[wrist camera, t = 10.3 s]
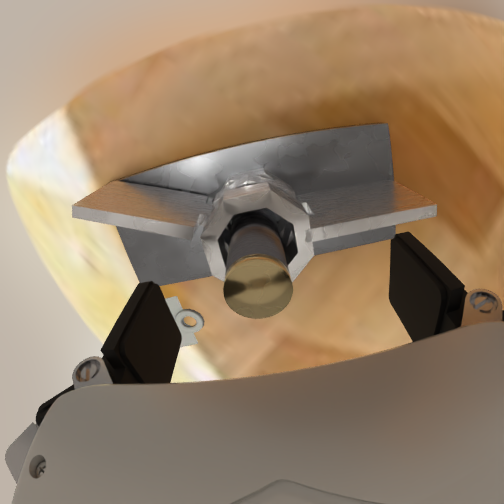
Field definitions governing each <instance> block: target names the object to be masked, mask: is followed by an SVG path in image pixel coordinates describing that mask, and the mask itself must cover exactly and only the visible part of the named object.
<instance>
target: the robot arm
mask: <svg viewBox="0 0 504 504" xmlns="http://www.w3.org/2000/svg"><path fill="white" fill-rule="evenodd" d="M464 287H465V286H464V285H463V284H462V282H461V281H460V280H459V279H458V278H457V277H456V276H455V275H454V274H453V273H452V272H451V271H450V270H449V269H448V268H447V267H446V266H445V265H444V264H443V263H442V262H441V261H440V260H439V259H438V258H437V257H436V256H435V255H434V254H433V253H432V252H430V251H429V250H428V249H427V248H426V247H425V246H424V245H423V244H422V243H421V242H420V241H419V240H418V239H416V238H415V237H414V236H413V235H412V234H411V233H410V232H404V233H399V234H396V235H395V236H394V238H393V239H391V255H390V284H389V300H390V303H391V305H392V306H393V308H394V310H395V311H396V313H397V315H398V316H399V318H400V320H401V322H402V323H403V325H404V327H405V329H406V330H407V332H408V334H409V336H410V337H411V339H412V341H413V342H412V343H408V344H405V345H402V346H398V347H395V348H391V349H388V350H384V351H380V352H377V353H373V354H369V355H365V356H361V357H357V358H352V359H348V360H344V361H339V362H334V363H330V364H325V365H320V366H315V367H309V368H304V369H298V370H292V371H286V372H280V373H273V374H266V375H259V376H251V377H243V378H233V379H224V380H213V381H200V382H183V383H170V382H171V378H172V374H173V370H174V367H175V363H176V359H177V356H178V352H179V349H180V345H181V342H182V335H181V332H180V330H179V328H178V326H177V324H176V322H175V320H174V317H173V315H172V313H171V311H170V309H169V307H168V304H167V302H166V300H165V298H164V296H163V293H162V291H161V289H160V287H159V285H158V284H155V283H154V282H153V281H148V282H142V283H139V284H138V285H137V287H136V289H135V290H134V292H133V294H132V295H131V297H130V299H129V300H128V302H127V304H126V306H125V307H124V309H123V311H122V312H121V314H120V316H119V318H118V319H117V321H116V323H115V325H114V326H113V328H112V330H111V332H110V334H109V336H108V337H107V339H106V341H105V343H104V345H103V347H102V348H101V352H102V353H103V355H104V356H103V357H102V358H99V357H95V356H94V357H89V358H87V359H85V360H83V361H82V362H80V363H79V364H78V365H77V366H76V368H75V370H74V372H73V375H72V379H73V383H74V384H73V385H72V386H70V387H69V388H67V389H65V390H64V391H62V392H61V393H59V394H58V395H56V396H55V397H53V398H52V399H50V400H48V401H47V402H45V403H43V404H42V405H41V406H40V407H39V409H38V412H37V415H36V423H37V424H36V425H35V424H34V423H32V424H31V425H30V426H29V427H28V428H27V429H26V430H25V431H24V432H23V433H22V434H21V435H20V436H19V437H18V438H17V439H16V440H15V441H14V442H13V443H12V444H11V445H10V446H9V448H8V449H7V451H6V454H5V460H6V463H7V465H8V468H9V470H10V472H11V474H12V476H13V477H14V480H15V481H16V483H17V486H16V489H15V493H14V497H13V501H12V504H504V311H503V310H502V302H501V300H500V298H499V297H498V296H497V295H496V294H495V293H493V292H491V291H489V290H486V289H474V290H472V291H470V292H469V293H467V292H466V291H465V290H464Z"/></svg>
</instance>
